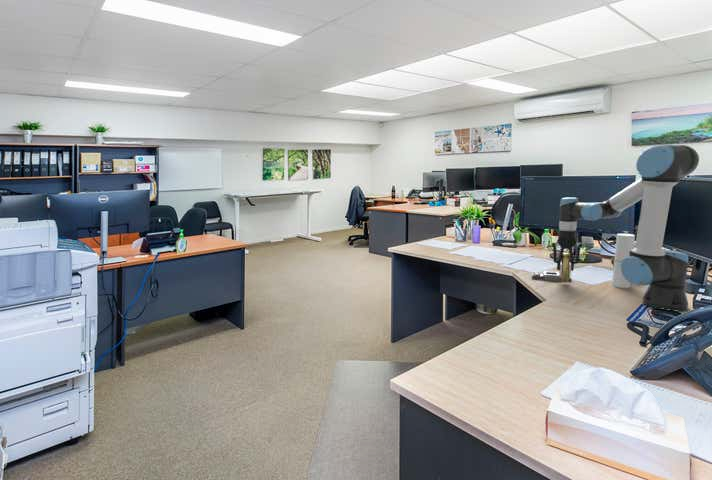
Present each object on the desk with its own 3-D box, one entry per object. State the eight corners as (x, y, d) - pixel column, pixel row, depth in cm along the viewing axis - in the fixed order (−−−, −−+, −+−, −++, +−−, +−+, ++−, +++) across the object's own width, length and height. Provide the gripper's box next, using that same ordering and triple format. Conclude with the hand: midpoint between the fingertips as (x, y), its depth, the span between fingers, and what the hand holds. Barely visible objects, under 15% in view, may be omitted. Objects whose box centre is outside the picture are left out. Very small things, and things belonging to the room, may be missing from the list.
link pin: (571, 280, 203) (572, 253, 201) (567, 282, 201) (568, 254, 198) (562, 279, 207) (563, 252, 204) (557, 280, 204) (559, 253, 202)
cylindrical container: (608, 284, 202) (613, 234, 197) (619, 283, 204) (624, 233, 199) (621, 288, 195) (626, 236, 190) (633, 287, 197) (638, 235, 192)
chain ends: (569, 278, 213) (570, 272, 213) (571, 282, 207) (572, 276, 206) (531, 275, 219) (532, 270, 219) (532, 279, 213) (532, 273, 212)
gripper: (585, 229, 200) (582, 276, 204) (548, 228, 206) (545, 274, 210) (588, 231, 193) (584, 279, 197) (549, 230, 199) (547, 277, 203)
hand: (564, 276), depth 203 cm, fingers closed on link pin, 3 cm apart
